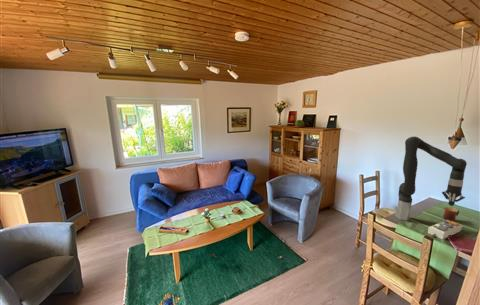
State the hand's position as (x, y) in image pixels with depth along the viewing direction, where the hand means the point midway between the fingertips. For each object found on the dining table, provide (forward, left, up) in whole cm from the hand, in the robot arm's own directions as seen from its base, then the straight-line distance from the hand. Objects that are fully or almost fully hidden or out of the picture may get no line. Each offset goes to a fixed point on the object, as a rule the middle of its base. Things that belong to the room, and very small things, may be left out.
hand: (451, 205), depth 152 cm
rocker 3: (+7, +2, -16) cm, 18 cm away
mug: (+22, +19, -23) cm, 37 cm away
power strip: (-3, -1, -23) cm, 23 cm away
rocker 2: (0, -1, -16) cm, 16 cm away
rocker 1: (-8, -5, -16) cm, 19 cm away
